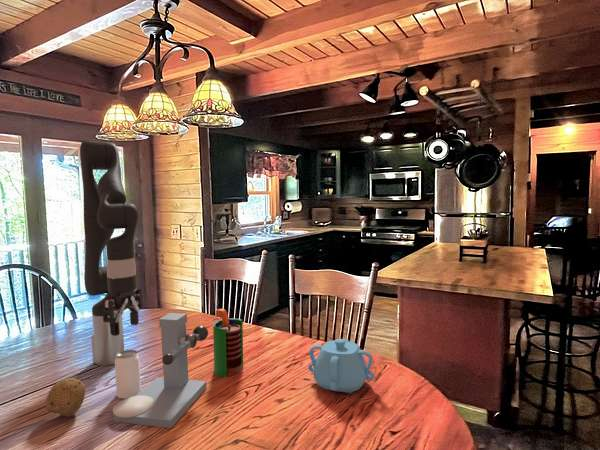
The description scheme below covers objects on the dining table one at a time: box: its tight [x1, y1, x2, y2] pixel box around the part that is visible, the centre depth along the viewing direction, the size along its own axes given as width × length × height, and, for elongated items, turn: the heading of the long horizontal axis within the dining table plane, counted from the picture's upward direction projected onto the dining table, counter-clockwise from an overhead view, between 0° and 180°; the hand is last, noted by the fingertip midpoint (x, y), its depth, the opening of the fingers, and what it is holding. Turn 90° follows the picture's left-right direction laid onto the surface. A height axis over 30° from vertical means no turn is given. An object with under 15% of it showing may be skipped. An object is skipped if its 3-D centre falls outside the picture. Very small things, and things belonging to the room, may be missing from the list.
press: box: [112, 312, 207, 429], centre depth 106 cm, size 18×21×22 cm
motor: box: [212, 308, 244, 378], centre depth 126 cm, size 10×9×20 cm
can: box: [114, 349, 142, 400], centre depth 112 cm, size 6×6×12 cm
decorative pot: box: [308, 338, 375, 394], centre depth 115 cm, size 16×16×14 cm
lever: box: [161, 325, 209, 365], centre depth 107 cm, size 4×22×4 cm, turn 168°
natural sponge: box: [44, 377, 86, 418], centre depth 102 cm, size 9×9×10 cm
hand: (125, 329), depth 111 cm, fingers open, 8 cm apart
